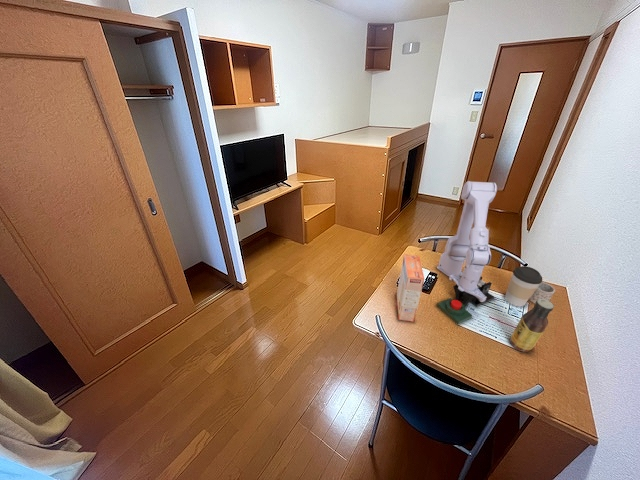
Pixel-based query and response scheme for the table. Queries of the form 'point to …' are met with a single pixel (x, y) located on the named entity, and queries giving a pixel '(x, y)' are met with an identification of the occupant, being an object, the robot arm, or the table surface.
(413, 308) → the cracker box
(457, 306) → the button
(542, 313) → the sauce bottle
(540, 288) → the mug
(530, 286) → the coffee cup
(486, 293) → the bracket
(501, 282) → the table surface
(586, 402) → the table surface
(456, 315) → the block
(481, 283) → the lever
